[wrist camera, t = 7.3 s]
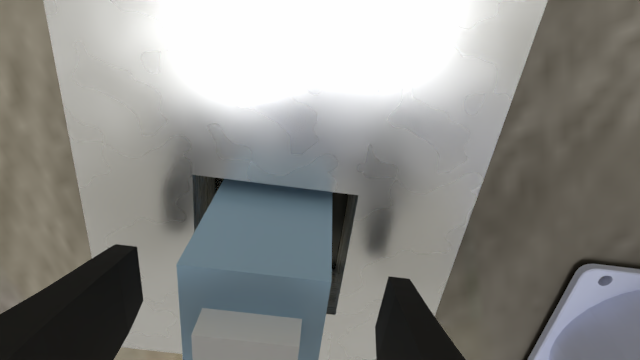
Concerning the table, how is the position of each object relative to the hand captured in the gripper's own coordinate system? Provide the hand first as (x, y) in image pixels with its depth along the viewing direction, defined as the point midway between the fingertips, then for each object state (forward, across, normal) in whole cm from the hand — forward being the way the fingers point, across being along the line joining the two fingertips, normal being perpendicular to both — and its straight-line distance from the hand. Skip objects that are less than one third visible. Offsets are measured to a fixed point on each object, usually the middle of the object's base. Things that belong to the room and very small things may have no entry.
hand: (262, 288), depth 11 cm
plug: (+4, 0, 0) cm, 4 cm away
